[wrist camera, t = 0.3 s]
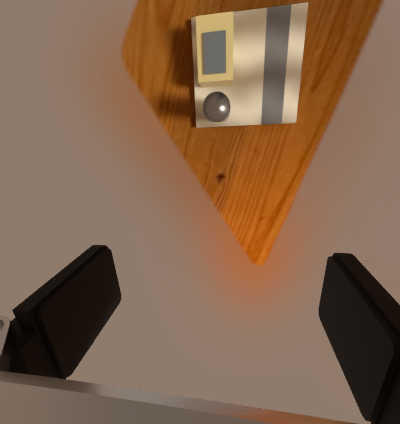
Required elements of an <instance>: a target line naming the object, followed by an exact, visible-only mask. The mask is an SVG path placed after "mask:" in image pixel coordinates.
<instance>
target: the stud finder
mask: <svg viewBox="0 0 400 424" xmlns="http://www.w3.org/2000/svg"><path fill="white" fill-rule="evenodd" d="M196 37H197V62H198V83H199V84H200V85H201V86H202V87H203V88H205V87H218V86H231V85H233V45H234V20H233V11H232V12H225V13H217V14H210V15H202V16H196Z"/></svg>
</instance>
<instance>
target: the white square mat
mask: <svg viewBox="0 0 400 424" xmlns="http://www.w3.org/2000/svg"><path fill="white" fill-rule="evenodd" d="M307 11H308V2H307V3H299V4H291V5H284V6H276V7H269V8H261V9H253V10H246V11H238V12H233V20H234V45H233V85H231V86H218V87H205V88H203V87H202V86H201V85H200V84H199V83H198V62H197V37H196V17H193V18H191V24H192V46H193V67H194V89H195V111H196V128H198V127H219V126H240V125H260V124H281V123H296V117H297V107H298V97H299V88H300V78H301V68H302V59H303V49H304V40H305V30H306V20H307ZM216 91H218V92H222V93H224V94H225V95H226V96H227V97H228V99H229V101H230V106H231V108H230V110H231V113H230V116H229V118H228V119H227V120H226V121H224V122H213V121H210V120H209V119H207V118H206V116H205V115H204V112H203V102H204V100H205V98H206V97H207V96H208V95H209V94H210V93H212V92H216Z"/></svg>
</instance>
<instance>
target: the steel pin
mask: <svg viewBox="0 0 400 424" xmlns="http://www.w3.org/2000/svg"><path fill="white" fill-rule="evenodd" d="M230 108H231V106H230V101H229V99H228V97H227V96H226V95H225V94H224V93H222V92H218V91H216V92H212V93H210V94H209V95H208V96H207V97H206V98H205V100H204V102H203V112H204V115H205V116H206V118H207V119H209V120H210V121H213V122H224V121H226V120H227V119H228V118H229V116H230V113H231V110H230Z"/></svg>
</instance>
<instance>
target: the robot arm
mask: <svg viewBox="0 0 400 424" xmlns="http://www.w3.org/2000/svg"><path fill="white" fill-rule="evenodd" d="M120 301H121V292H120V287H119V283H118V278H117V274H116V270H115V265H114V261H113V257H112V252H111V250H110V249H108V247H107V246H105V245H93V246H91V247H90V248H89V249H87V250H86V251H85V252H84V253H82V254H81V255H80V256H79V257H77V258H76V259H75V260H74V261H72V262H71V263H70V264H69V265H68V266H66V267H65V268H64V269H63V270H61V271H60V272H59V273H58V274H56V275H55V276H54V277H53V278H51V279H50V280H49V281H48V282H46V283H45V284H44V285H43V286H42V287H40V288H39V289H38V290H37V291H35V292H34V293H33V294H32V295H30V296H29V297H28V298H27V299H25V300H24V301H23V302H22V303H21V304H19V305H18V306H17V307H16V308H14V309H13V313H14V315H15V317H16V318H14V319H13V320H12V321H10V319H9V318H8V317H6V316H0V424H355V423H350V422H344V421H338V420H332V419H326V418H321V417H314V416H308V415H301V414H295V413H288V412H282V411H275V410H269V409H263V408H256V407H249V406H242V405H237V404H230V403H223V402H217V401H210V400H203V399H196V398H189V397H184V396H177V395H170V394H163V393H156V392H150V391H143V390H136V389H129V388H122V387H116V386H109V385H102V384H95V383H87V382H80V381H73V380H66V377H69V376H70V375H71V374H72V373H73V372H74V370H75V369H76V367H77V366H78V364H79V362H80V361H81V360H82V358H83V357H84V355H85V354H86V352H87V351H88V349H89V348H90V346H91V345H92V343H93V342H94V340H95V339H96V337H97V336H98V334H99V333H100V331H101V330H102V328H103V327H104V326H105V324H106V323H107V321H108V319H109V318H110V317H111V315H112V314H113V312H114V311H115V309H116V308H117V306H118V305H119V303H120ZM319 317H320V320H321V323H322V325H323V327H324V329H325V331H326V334H327V336H328V339H329V341H330V343H331V345H332V348H333V350H334V352H335V355H336V357H337V359H338V361H339V363H340V366H341V368H342V370H343V373H344V375H345V377H346V380H347V382H348V384H349V386H350V389H351V391H352V393H353V395H354V398H355V400H356V402H357V405H358V407H359V409H360V412H361V414H362V416H363V417H364V419H365V420H366V421H370V422H371V424H400V305H399V304H398V303H397V302H396V301H395V299H394V298H393V297H392V296H391V295H390V294H389V293H388V292H387V291H386V290H385V289H384V288H383V287H382V285H381V284H380V283H379V282H378V281H377V280H376V279H375V278H374V277H373V276H372V275H371V274H370V273H369V271H368V270H367V269H366V268H365V267H364V266H363V265H362V264H361V263H360V262H359V261H358V260H357V258H356V257H355V256H354V255H353V254H349V253H334V254H333V256H332V257H331V256H330V257H328V259H327V265H326V271H325V276H324V282H323V288H322V294H321V299H320V305H319Z"/></svg>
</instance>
